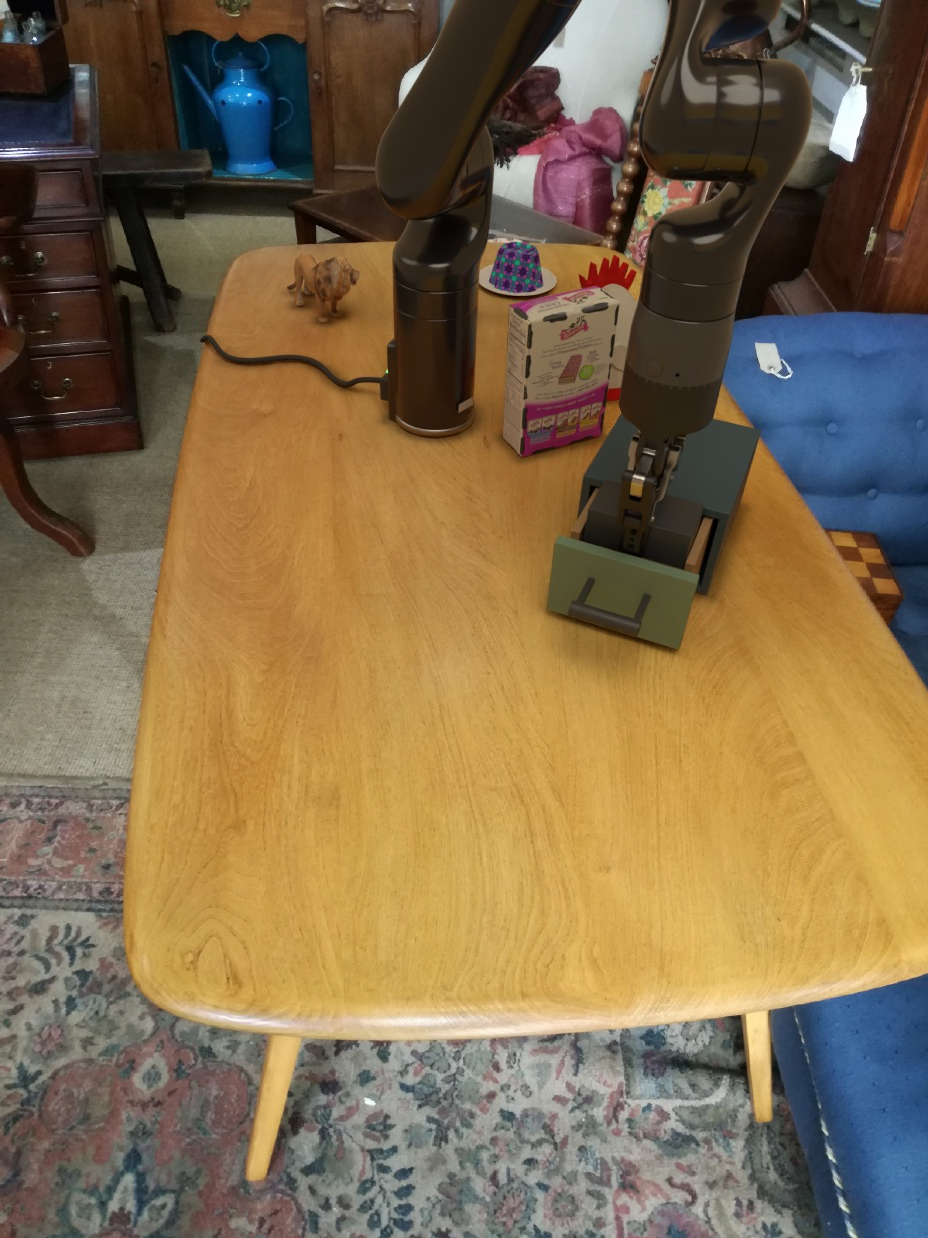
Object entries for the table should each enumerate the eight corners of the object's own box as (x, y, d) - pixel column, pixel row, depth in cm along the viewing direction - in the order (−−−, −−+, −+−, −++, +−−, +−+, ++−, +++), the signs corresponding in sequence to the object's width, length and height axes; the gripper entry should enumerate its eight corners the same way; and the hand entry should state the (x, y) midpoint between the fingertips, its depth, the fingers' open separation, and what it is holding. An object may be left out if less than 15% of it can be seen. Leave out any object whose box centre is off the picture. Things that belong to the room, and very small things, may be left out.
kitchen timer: (520, 361, 122) (530, 246, 111) (605, 339, 127) (621, 227, 117) (583, 411, 113) (599, 291, 103) (671, 384, 118) (695, 268, 108)
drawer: (664, 687, 79) (682, 620, 73) (527, 643, 82) (534, 575, 77) (714, 555, 92) (732, 490, 86) (594, 522, 95) (604, 457, 90)
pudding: (568, 277, 142) (571, 242, 138) (537, 307, 134) (540, 271, 130) (496, 261, 145) (498, 226, 142) (462, 289, 137) (463, 253, 134)
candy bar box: (579, 416, 112) (597, 283, 101) (602, 437, 109) (623, 301, 98) (498, 437, 108) (507, 301, 97) (520, 459, 105) (531, 320, 94)
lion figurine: (367, 321, 129) (364, 256, 122) (336, 333, 126) (332, 267, 120) (301, 287, 136) (296, 224, 130) (271, 297, 133) (264, 233, 127)
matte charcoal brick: (583, 540, 82) (587, 508, 80) (599, 510, 86) (605, 478, 83) (683, 568, 80) (691, 536, 77) (696, 536, 83) (704, 504, 81)
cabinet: (706, 595, 89) (729, 514, 82) (571, 556, 92) (583, 475, 86) (739, 507, 99) (761, 429, 93) (616, 475, 103) (629, 398, 96)
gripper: (703, 413, 65) (661, 596, 77) (743, 330, 75) (700, 503, 86) (600, 389, 67) (574, 571, 79) (652, 311, 77) (622, 482, 88)
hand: (640, 534), depth 82 cm, fingers closed on matte charcoal brick, 5 cm apart
